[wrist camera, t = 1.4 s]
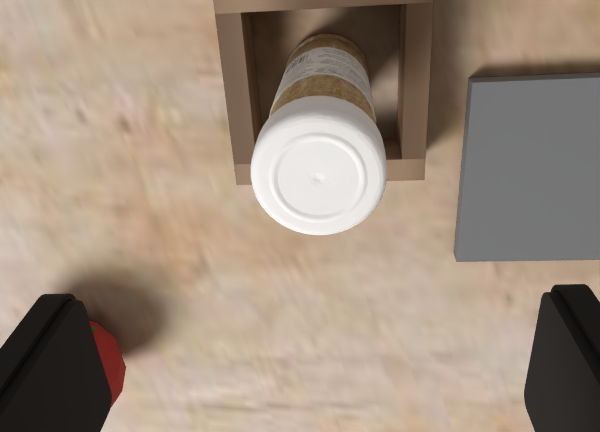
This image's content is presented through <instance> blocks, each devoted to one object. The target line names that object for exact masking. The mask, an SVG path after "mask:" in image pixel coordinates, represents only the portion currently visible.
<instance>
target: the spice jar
mask: <svg viewBox="0 0 600 432" xmlns="http://www.w3.org/2000/svg"><path fill="white" fill-rule="evenodd" d="M368 75H369V73H368V67H367V64H366V59H365V57H364V55H363V54H362V52H361V51H360V50H359V48H358V47H357V46H356V45H355V44H354V43H353V42H352V41H350V40H348V39H346V38H345V37H343V36H340V35H335V34H319V35H315V36H312V37H310V38H307V39H306V40H304V41H303V42H302V43H300V44H299V45H298V46H297V47H296V48H295V49H294V50H293V52H292V53H291V55H290V56H289V59H288V61H287V64H286V67H285V73H284V75H283V77H282V80H281V83H280V86H279V88H278V91H277V93H276V96H275V99H274V102H273V105H272V108H271V111H270V115H269V119H268V120H267V121H266V123H265V124H264V126H263V127H262V129H261V131H260V134H259V136H258V139H257V142H256V145H255V148H254V152H253V156H252V160H251V181H252V186H253V190H254V192H255V195H256V197H257V199H258V201H259V202H260V204H261V206H262V207H263V208H264V210H265V211H266V212H267V213H268V214H269V215H270V216H271V217H272V218H273V219H275V220H276V221H277V222H279V223H280V224H282V225H283V226H285V227H287V228H289V229H291V230H294V231H297V232H301V233H305V234H311V235H328V234H334V233H339V232H342V231H345V230H347V229H350V228H352V227H353V226H355V225H357V224H359V223H360V222H361V221H363V220H364V219H365V218H366V217H367V216H368V215H369V214H370V213H371V212H372V211H373V210H374V209H375V208H376V206H377V205H378V203H379V201H380V200H381V198H382V195H383V192H384V189H385V186H386V180H387V162H386V154H385V149H384V144H383V140H382V137H381V134H380V132H379V130H378V128H377V126H376V116H375V111H374V105H373V99H372V94H371V88H370V83H369V79H368Z"/></svg>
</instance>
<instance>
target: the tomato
mask: <svg viewBox="0 0 600 432" xmlns="http://www.w3.org/2000/svg"><path fill="white" fill-rule="evenodd" d="M89 322H90V326H91V329H92V332H93V335H94V338H95V341H96V345H97V348H98V351H99V354H100V357H101V361H102V364H103V367H104V370H105V373H106V377H107V380H108V383H109V386H110V389H111V393H112V403H111V407H112V405H113V404H114V403H115V401H116V400H117V398H118V396H119V395H120V393H121V392H122V388H123V382H124V376H125V370H126V366H125V364H124V361H123V358H122V356H121V353H120V350H119V348H118V345H117V343H116V340H115V337H114V336H113V335H111V334H110V333H109V332H108V331H107V330H106V329H104V328H103V327H102V326H101V325H100V324H98V323H96V322H93V321H89Z"/></svg>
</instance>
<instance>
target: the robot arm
mask: <svg viewBox="0 0 600 432" xmlns="http://www.w3.org/2000/svg"><path fill="white" fill-rule="evenodd" d="M524 399H525V405H526V409H527V412H528V414H529V417H530V420H531V422H532V425H533V427H534V430H535V432H600V302H599V301H598V299H597V298H596V296H595V295H594V293H593V292H592V290H591V289H590V288H589V287H588V286H587V285H585V284H570V285H554V286H553V288H552V289H551V292H545V293H544V294H543V295H542V298H541V304H540V309H539V314H538V320H537V325H536V331H535V336H534V341H533V347H532V352H531V357H530V363H529V368H528V373H527V379H526V384H525V390H524ZM111 403H112V393H111V389H110V386H109V383H108V380H107V377H106V373H105V370H104V367H103V364H102V361H101V357H100V354H99V351H98V348H97V345H96V341H95V338H94V335H93V332H92V329H91V326H90V322H89V319H88V316H87V313H86V310H85V306H84V304H83V303H82V301H79V300H78V301H77V300H76V298H75V297H74V296H73V295H72V294H44V295H41V296H40V297H39V298H38V300H37V301H36V302H35V304H34V305H33V306H32V307H31V309H30V310H29V311H28V313H27V314H26V315H25V317H24V318H23V319H22V321H21V322H20V323H19V325H18V326H17V327H16V329H15V330H14V331H13V332H12V334H11V335H10V336H9V338H8V339H7V340H6V342H5V343H4V344H3V346H2V347H1V348H0V432H100V431H101V429H102V427H103V424H104V422H105V420H106V418H107V415H108V413H109V411H110V408H111Z"/></svg>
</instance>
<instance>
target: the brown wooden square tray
mask: <svg viewBox="0 0 600 432" xmlns="http://www.w3.org/2000/svg"><path fill="white" fill-rule="evenodd" d="M213 2H214V10H215V18H216V26H217V34H218V41H219V49H220V57H221V65H222V73H223V81H224V89H225V97H226V104H227V112H228V120H229V128H230V136H231V144H232V152H233V159H234V167H235V175H236V183H237V185H252V181H251V160H252V156H253V152H254V148H255V145H256V142H257V139H258V136H259V134H260V131H261V129H262V123H261V112H260V102H259V92H258V82H257V71H256V61H255V51H254V41H253V30H252V20H251V12H261V11H280V10H298V9H317V8H335V7H354V6H373V5H391V4H400V32H399V71H398V111H397V139H382V140H383V144H384V149H385V154H386V162H387V180H386V181H405V180H424V178H425V158H426V139H427V120H428V101H429V82H430V63H431V44H432V25H433V6H434V0H213Z"/></svg>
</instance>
